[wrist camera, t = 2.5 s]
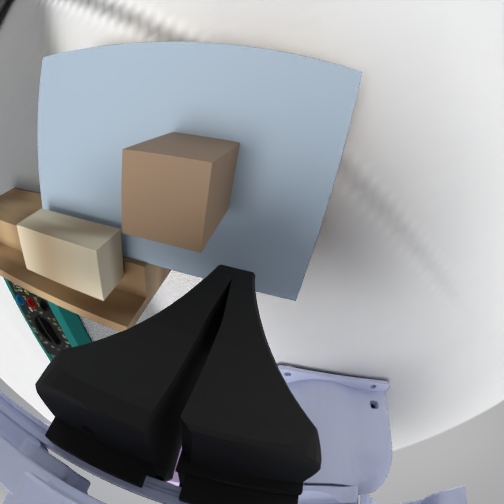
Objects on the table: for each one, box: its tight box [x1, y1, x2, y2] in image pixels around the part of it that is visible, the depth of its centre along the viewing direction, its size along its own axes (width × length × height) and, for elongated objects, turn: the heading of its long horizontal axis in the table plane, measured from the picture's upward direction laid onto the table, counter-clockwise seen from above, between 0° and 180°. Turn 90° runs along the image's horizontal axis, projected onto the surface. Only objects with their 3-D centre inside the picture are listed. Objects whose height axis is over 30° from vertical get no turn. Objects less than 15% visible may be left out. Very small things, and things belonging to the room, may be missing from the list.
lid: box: [38, 42, 362, 301], centre depth 9 cm, size 13×9×5 cm
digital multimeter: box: [4, 278, 92, 361], centre depth 22 cm, size 7×15×3 cm, turn 3°
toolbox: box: [0, 188, 171, 332], centre depth 11 cm, size 22×11×6 cm, turn 80°
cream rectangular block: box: [16, 208, 124, 301], centre depth 11 cm, size 5×2×2 cm, turn 80°
